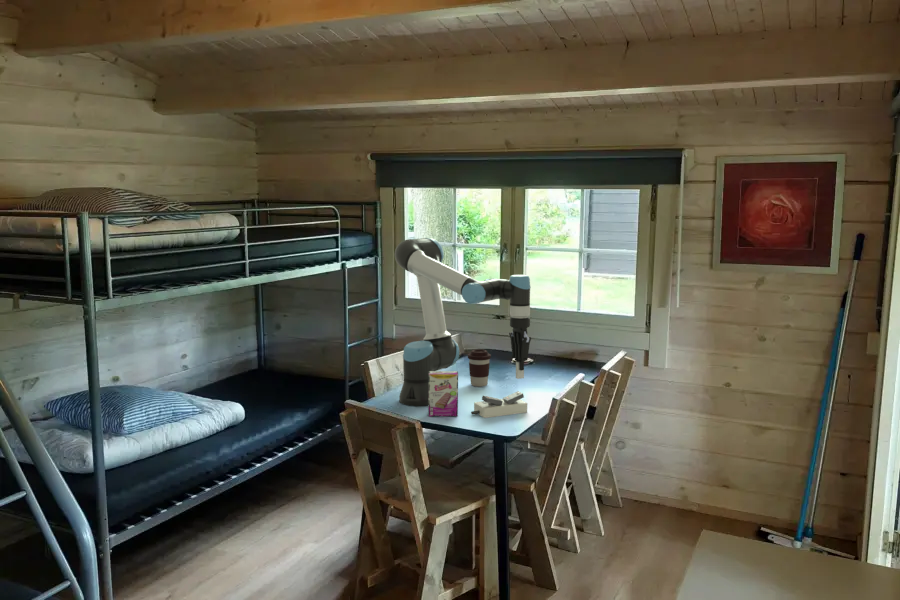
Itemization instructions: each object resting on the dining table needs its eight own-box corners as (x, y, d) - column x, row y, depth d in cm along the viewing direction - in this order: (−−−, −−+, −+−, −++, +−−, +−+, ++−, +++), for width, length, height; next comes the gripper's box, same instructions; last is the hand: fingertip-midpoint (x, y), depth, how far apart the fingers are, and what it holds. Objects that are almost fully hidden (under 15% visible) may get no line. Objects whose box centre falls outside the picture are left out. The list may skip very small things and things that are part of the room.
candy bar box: (428, 417, 271) (428, 374, 269) (428, 413, 276) (428, 370, 274) (458, 416, 272) (458, 373, 269) (457, 412, 277) (457, 370, 274)
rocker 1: (485, 402, 270) (487, 397, 270) (481, 399, 274) (482, 394, 274) (501, 405, 273) (502, 400, 273) (497, 402, 277) (498, 398, 277)
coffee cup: (488, 388, 311) (489, 353, 309) (465, 387, 313) (465, 352, 311) (492, 382, 321) (492, 348, 318) (469, 381, 323) (470, 347, 320)
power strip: (477, 419, 269) (477, 407, 268) (466, 412, 277) (466, 401, 276) (527, 412, 277) (527, 401, 276) (515, 405, 285) (516, 395, 285)
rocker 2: (508, 404, 274) (507, 400, 274) (504, 401, 278) (502, 397, 277) (524, 397, 277) (522, 393, 276) (519, 394, 280) (518, 390, 280)
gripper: (537, 318, 269) (537, 380, 272) (520, 313, 281) (520, 373, 284) (519, 319, 266) (519, 383, 269) (503, 314, 278) (503, 375, 281)
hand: (519, 378), depth 277 cm, fingers closed
